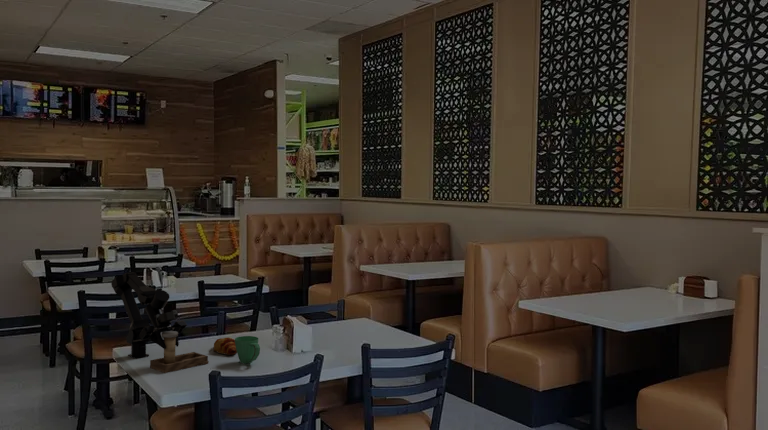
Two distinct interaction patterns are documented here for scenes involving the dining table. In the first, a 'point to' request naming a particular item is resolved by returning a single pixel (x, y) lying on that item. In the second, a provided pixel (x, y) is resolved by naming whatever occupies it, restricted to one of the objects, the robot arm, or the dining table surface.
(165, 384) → the dining table surface
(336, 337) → the dining table surface
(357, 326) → the dining table surface
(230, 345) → the croissant
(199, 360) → the tray
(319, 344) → the dining table surface
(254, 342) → the mug
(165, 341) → the peg
